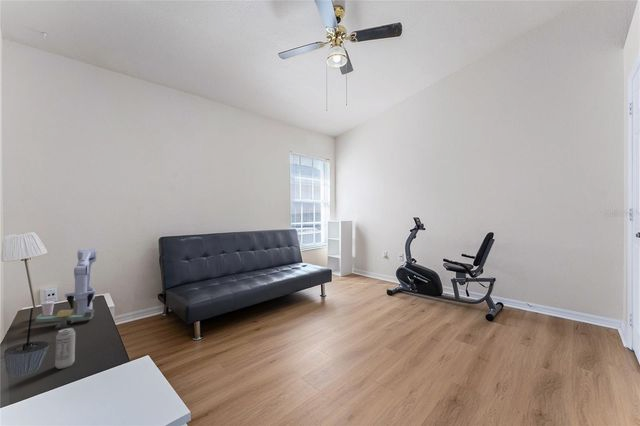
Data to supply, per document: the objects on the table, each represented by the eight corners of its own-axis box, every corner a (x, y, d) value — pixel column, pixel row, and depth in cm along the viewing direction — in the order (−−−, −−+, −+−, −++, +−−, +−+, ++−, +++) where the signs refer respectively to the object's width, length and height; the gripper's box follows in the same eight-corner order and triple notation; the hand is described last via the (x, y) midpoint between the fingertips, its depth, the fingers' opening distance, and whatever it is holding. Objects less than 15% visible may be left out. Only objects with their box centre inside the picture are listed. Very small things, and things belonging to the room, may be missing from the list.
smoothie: (38, 318, 174) (39, 296, 175) (52, 315, 180) (52, 294, 180) (42, 319, 171) (43, 297, 172) (56, 316, 177) (56, 295, 177)
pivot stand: (62, 322, 166) (62, 314, 167) (75, 320, 169) (75, 312, 169) (55, 328, 156) (55, 320, 156) (68, 326, 159) (68, 318, 159)
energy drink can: (78, 361, 118) (79, 327, 118) (65, 369, 112) (66, 332, 112) (64, 362, 117) (65, 327, 118) (50, 369, 111) (52, 333, 112)
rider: (59, 315, 163) (60, 310, 163) (72, 315, 166) (73, 309, 166) (56, 318, 159) (57, 312, 159) (69, 317, 162) (70, 311, 162)
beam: (40, 317, 161) (42, 310, 161) (93, 315, 172) (94, 308, 173) (33, 322, 153) (35, 315, 153) (89, 319, 165) (90, 312, 165)
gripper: (63, 288, 159) (62, 311, 159) (94, 285, 166) (93, 307, 166) (67, 285, 165) (66, 307, 165) (97, 283, 172) (96, 304, 172)
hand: (80, 307), depth 166 cm, fingers open, 7 cm apart
